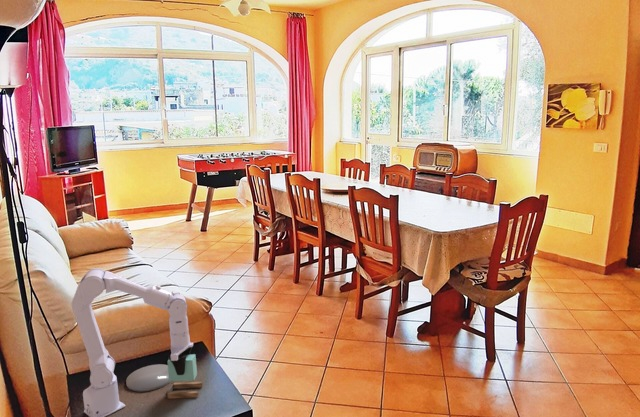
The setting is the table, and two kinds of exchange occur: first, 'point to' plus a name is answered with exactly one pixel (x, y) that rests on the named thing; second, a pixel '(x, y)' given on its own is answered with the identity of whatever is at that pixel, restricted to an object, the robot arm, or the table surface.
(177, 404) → the table surface
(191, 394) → the brown wooden frame
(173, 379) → the tall mint rectangular block
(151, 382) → the plate
